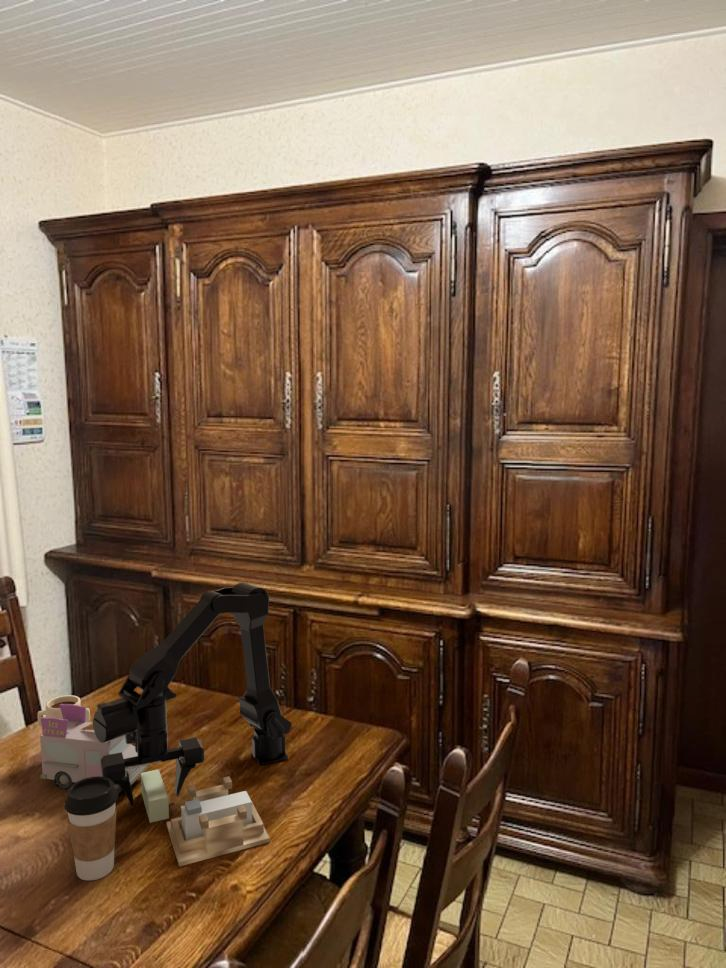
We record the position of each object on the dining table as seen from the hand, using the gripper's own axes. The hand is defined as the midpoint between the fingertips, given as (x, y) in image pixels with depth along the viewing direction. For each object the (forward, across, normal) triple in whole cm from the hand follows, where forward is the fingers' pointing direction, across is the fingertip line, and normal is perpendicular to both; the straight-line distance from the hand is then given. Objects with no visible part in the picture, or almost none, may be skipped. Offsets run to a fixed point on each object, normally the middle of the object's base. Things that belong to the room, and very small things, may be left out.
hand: (154, 800), depth 140 cm
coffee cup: (+1, +12, +15) cm, 19 cm away
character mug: (+1, +15, -27) cm, 31 cm away
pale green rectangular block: (+1, 0, 0) cm, 1 cm away
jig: (+1, -9, +14) cm, 17 cm away
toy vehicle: (+1, +10, -14) cm, 17 cm away
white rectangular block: (0, -9, +14) cm, 17 cm away
